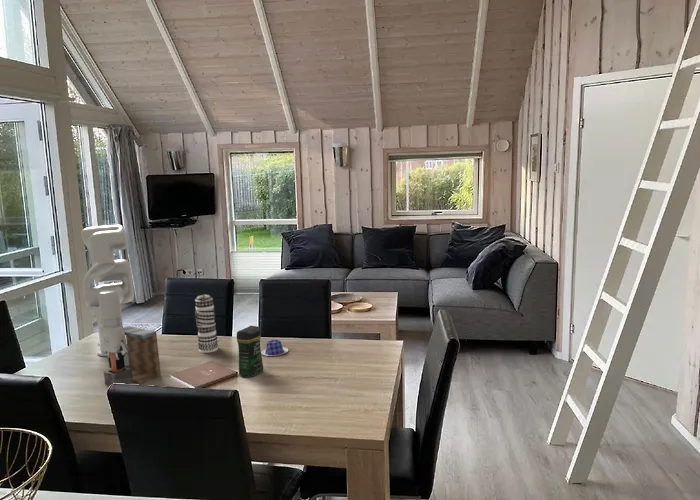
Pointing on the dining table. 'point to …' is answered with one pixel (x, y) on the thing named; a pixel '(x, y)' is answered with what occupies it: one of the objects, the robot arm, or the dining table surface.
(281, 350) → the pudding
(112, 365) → the peg
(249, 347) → the coffee jar
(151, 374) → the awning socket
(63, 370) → the dining table surface
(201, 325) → the decorative candle
